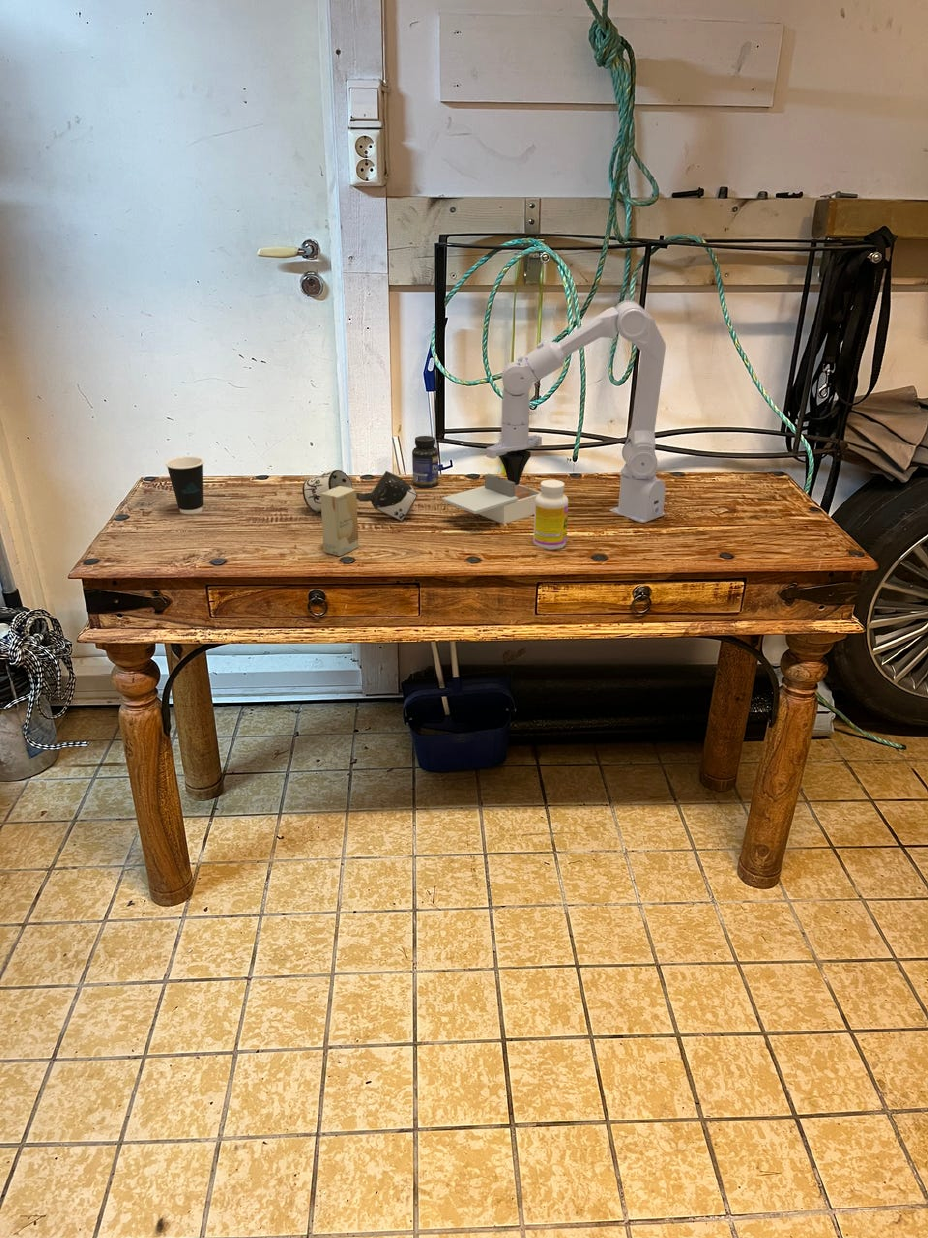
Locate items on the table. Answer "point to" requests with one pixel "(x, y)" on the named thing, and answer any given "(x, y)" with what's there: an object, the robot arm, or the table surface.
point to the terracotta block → (520, 493)
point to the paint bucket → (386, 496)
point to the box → (514, 508)
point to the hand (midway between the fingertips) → (513, 483)
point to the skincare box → (339, 520)
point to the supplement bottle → (551, 516)
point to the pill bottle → (425, 462)
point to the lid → (485, 495)
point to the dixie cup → (187, 483)
